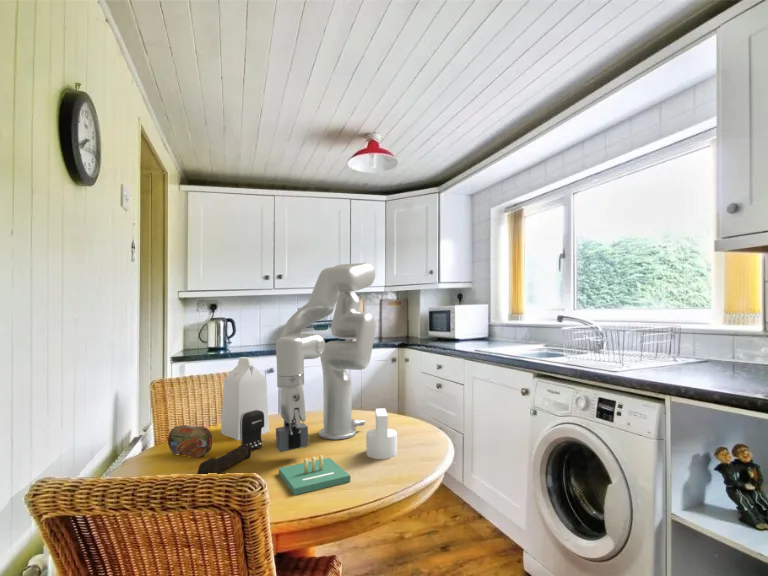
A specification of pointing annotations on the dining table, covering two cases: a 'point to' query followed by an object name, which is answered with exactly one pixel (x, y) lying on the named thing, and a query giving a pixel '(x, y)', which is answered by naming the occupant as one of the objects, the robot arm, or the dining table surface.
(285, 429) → the block
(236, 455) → the hand tool
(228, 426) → the milk
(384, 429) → the base with upright slab
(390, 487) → the dining table surface
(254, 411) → the black battery charger
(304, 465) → the header board
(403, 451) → the dining table surface
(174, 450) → the tin
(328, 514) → the dining table surface
